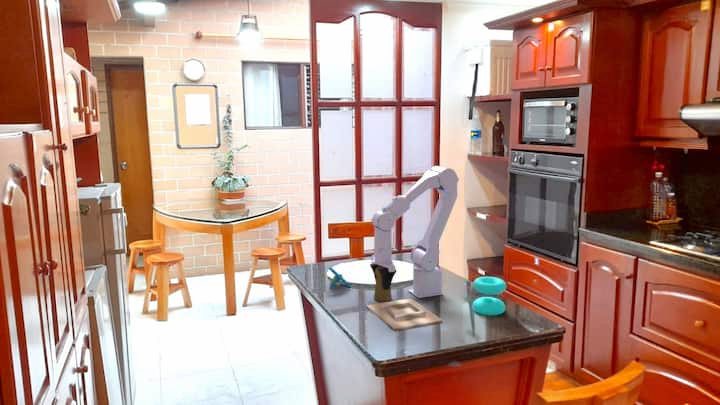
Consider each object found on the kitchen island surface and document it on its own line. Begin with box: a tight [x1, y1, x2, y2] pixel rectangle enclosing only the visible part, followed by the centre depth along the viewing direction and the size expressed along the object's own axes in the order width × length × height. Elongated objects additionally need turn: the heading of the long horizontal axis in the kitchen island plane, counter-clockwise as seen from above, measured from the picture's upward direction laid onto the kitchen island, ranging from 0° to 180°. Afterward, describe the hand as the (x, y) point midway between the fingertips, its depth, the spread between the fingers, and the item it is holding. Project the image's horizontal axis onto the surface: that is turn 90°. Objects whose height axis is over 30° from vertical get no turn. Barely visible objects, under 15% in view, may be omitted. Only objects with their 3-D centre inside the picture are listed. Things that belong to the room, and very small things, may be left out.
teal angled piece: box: [328, 266, 351, 289], centre depth 186 cm, size 11×6×10 cm
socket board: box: [366, 297, 444, 331], centre depth 161 cm, size 16×20×2 cm
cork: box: [373, 266, 393, 302], centre depth 174 cm, size 6×6×11 cm
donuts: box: [472, 276, 507, 317], centre depth 163 cm, size 10×10×10 cm
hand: (383, 286), depth 174 cm, fingers closed on cork, 5 cm apart
